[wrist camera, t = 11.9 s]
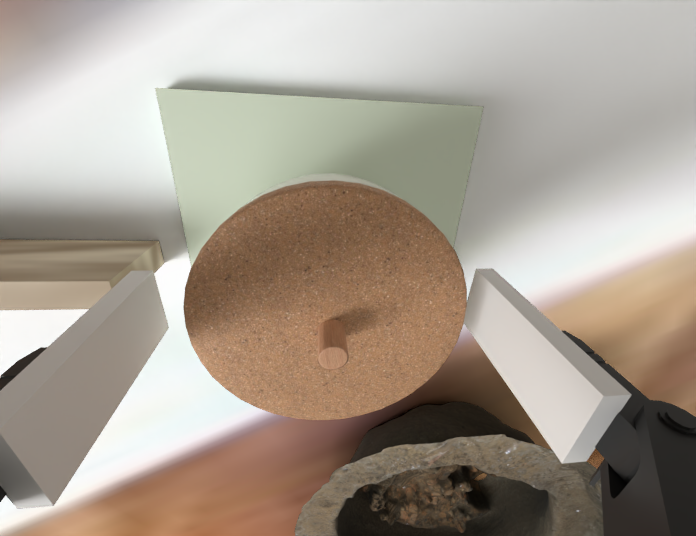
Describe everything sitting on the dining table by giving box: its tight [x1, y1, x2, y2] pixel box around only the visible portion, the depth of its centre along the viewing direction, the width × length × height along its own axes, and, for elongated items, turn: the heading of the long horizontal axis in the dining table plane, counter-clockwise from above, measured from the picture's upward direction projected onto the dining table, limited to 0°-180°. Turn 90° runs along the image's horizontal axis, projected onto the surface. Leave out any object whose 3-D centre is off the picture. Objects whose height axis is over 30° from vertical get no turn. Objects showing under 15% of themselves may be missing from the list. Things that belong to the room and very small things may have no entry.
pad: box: [155, 88, 484, 267], centre depth 19 cm, size 16×16×1 cm
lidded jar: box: [184, 173, 467, 420], centre depth 14 cm, size 11×11×9 cm
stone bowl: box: [295, 402, 604, 536], centre depth 27 cm, size 25×25×9 cm
